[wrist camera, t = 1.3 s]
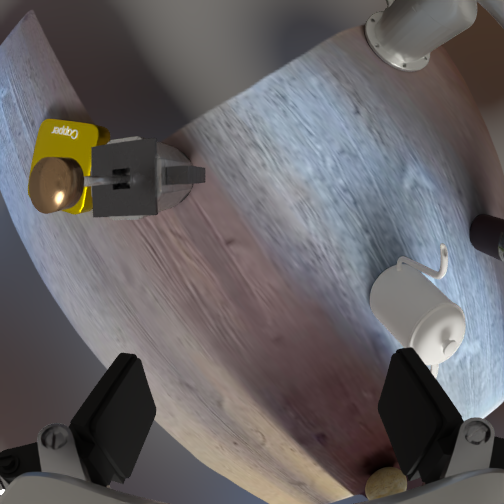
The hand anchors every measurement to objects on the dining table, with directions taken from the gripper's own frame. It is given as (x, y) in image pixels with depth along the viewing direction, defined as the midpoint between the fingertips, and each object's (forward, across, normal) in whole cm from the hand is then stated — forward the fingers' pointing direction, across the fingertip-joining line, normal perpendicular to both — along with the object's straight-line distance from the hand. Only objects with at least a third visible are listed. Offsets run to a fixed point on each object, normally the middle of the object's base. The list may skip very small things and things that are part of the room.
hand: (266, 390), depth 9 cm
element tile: (+35, +34, -13) cm, 50 cm away
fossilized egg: (+34, -35, +74) cm, 89 cm away
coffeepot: (+35, -22, +11) cm, 43 cm away
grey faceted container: (+34, +14, -8) cm, 38 cm away
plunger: (+22, +15, -8) cm, 28 cm away
